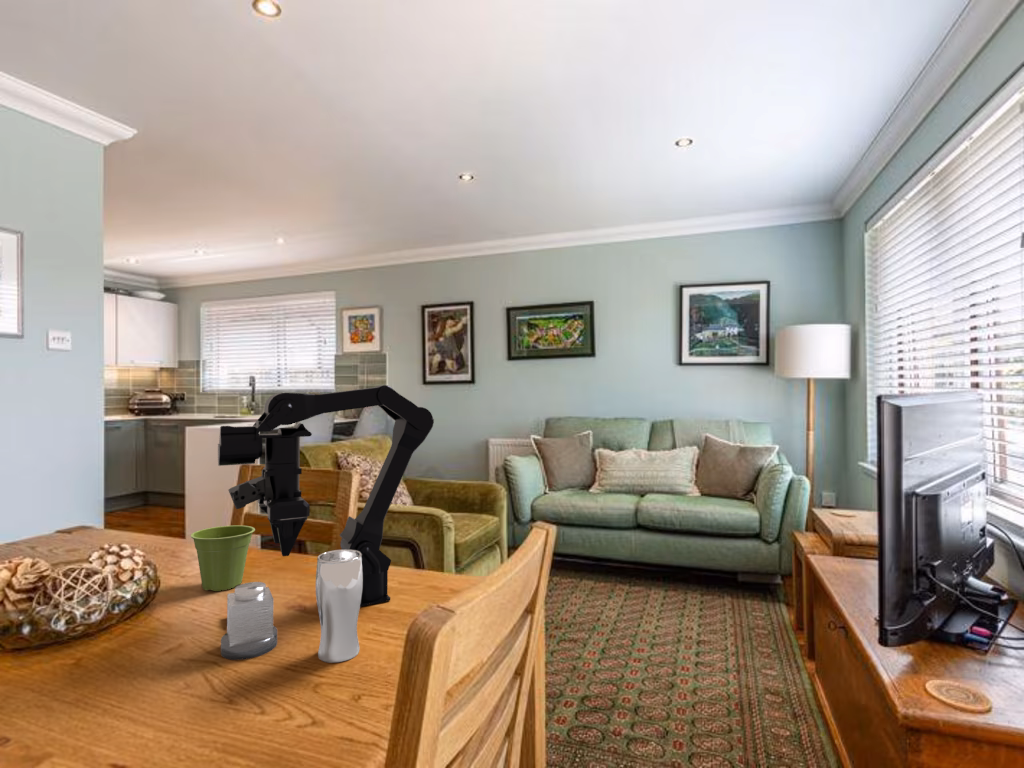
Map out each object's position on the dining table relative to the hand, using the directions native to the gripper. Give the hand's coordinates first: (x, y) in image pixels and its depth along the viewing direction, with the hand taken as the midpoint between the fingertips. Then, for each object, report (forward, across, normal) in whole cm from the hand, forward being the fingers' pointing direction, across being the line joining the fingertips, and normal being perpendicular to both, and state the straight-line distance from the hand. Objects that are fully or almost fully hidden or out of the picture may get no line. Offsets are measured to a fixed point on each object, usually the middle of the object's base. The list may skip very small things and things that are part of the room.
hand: (281, 549), depth 97 cm
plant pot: (+12, -23, -8) cm, 27 cm away
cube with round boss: (+10, +10, -6) cm, 15 cm away
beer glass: (+12, +19, +6) cm, 24 cm away
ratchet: (+12, +5, -6) cm, 14 cm away
